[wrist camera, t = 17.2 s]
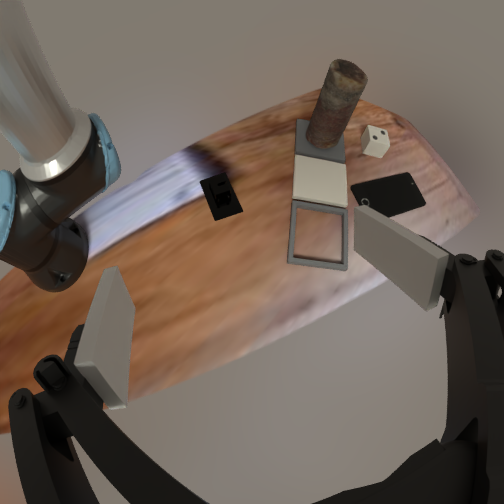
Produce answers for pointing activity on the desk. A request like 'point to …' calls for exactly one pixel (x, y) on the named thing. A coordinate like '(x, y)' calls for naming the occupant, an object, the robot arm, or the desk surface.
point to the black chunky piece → (220, 196)
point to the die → (375, 141)
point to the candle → (335, 103)
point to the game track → (319, 189)
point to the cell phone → (389, 194)
